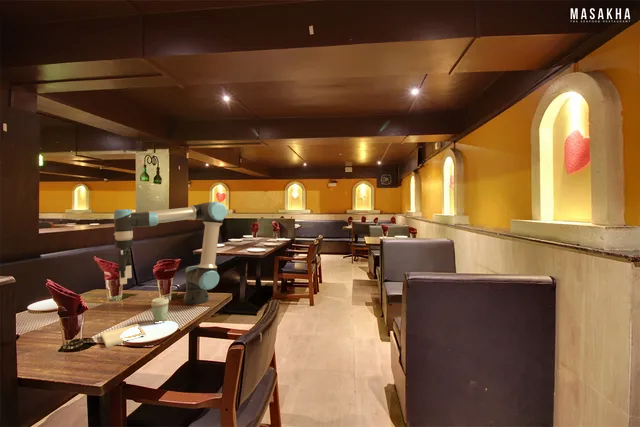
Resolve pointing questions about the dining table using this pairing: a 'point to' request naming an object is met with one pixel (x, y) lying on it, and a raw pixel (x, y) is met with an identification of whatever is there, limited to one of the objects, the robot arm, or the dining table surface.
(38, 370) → the dining table surface
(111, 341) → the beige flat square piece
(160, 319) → the coffee cup
